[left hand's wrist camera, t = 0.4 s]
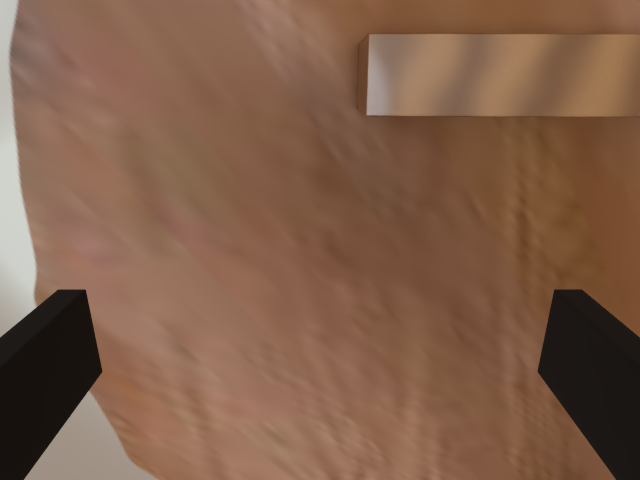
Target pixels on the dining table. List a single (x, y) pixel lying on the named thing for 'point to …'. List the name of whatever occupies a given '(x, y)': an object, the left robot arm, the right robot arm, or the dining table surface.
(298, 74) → the dining table surface
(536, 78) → the bar
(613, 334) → the left robot arm
